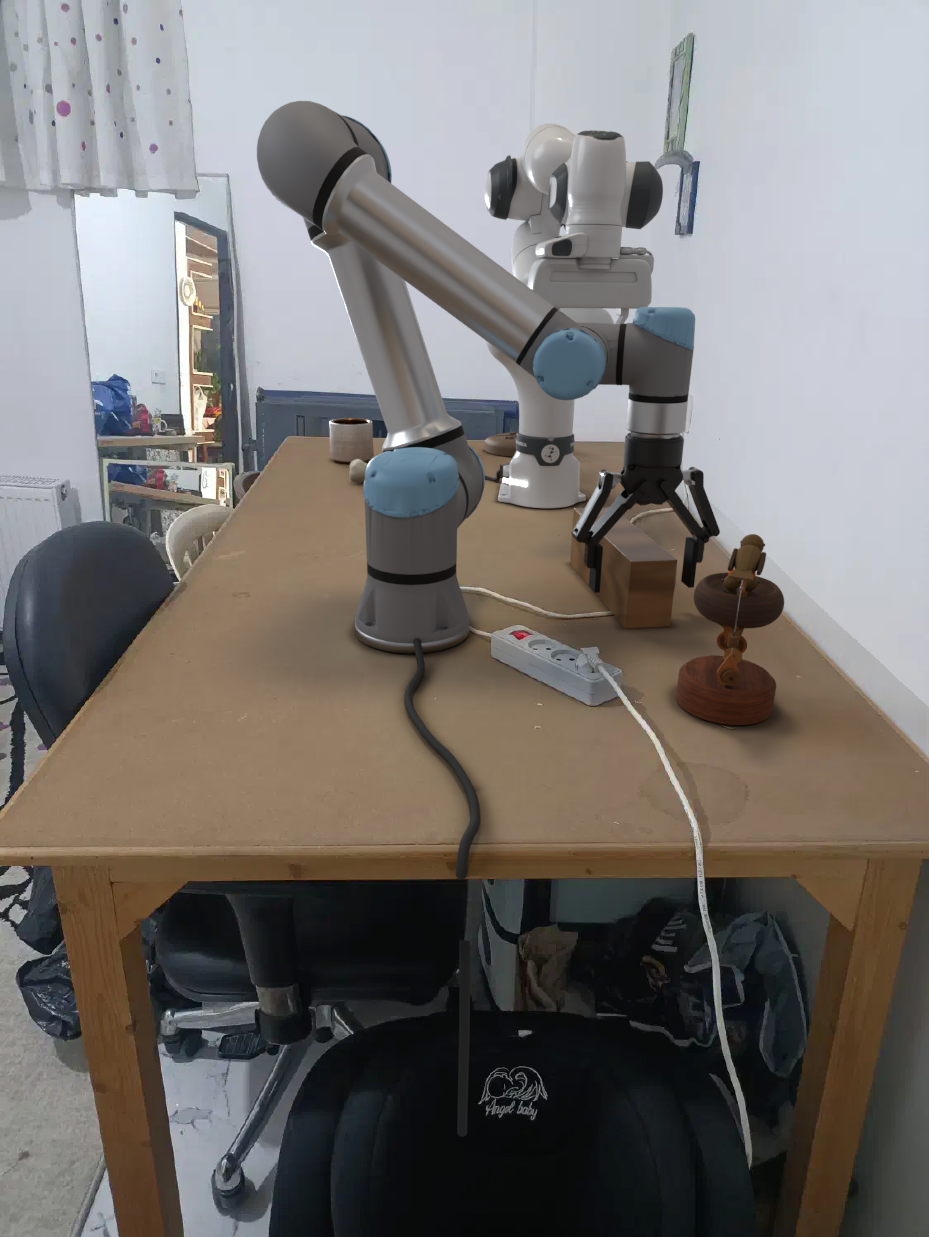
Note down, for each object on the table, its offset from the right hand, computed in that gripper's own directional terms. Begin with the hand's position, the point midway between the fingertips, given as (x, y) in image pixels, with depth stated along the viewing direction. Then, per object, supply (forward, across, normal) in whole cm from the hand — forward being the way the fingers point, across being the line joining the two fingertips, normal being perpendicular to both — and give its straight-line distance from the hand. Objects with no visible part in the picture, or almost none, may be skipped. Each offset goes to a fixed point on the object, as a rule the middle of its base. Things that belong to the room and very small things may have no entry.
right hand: (586, 338), depth 139 cm
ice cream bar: (+35, -9, -76) cm, 84 cm away
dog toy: (+35, +28, -49) cm, 67 cm away
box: (+35, +1, +26) cm, 44 cm away
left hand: (+30, +1, +36) cm, 47 cm away
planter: (+35, +37, -74) cm, 90 cm away
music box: (+35, 0, +62) cm, 71 cm away
